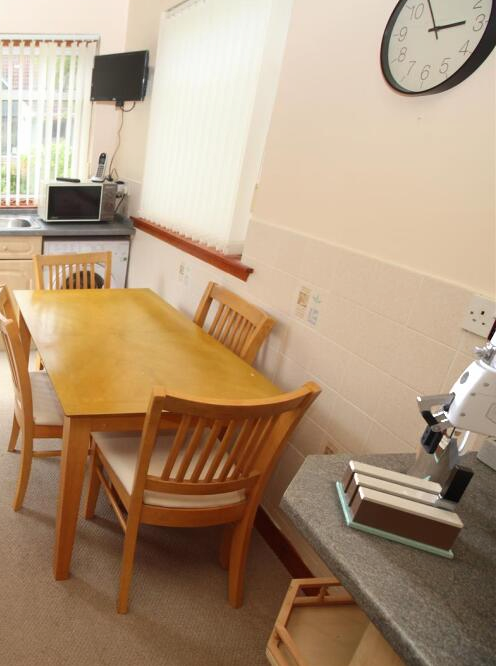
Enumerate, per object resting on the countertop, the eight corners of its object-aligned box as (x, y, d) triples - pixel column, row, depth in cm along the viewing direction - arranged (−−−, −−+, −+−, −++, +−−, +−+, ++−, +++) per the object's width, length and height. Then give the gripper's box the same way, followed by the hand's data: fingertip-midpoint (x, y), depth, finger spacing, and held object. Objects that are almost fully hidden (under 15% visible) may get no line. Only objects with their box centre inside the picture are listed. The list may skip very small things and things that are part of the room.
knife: (437, 533, 80) (473, 468, 75) (440, 539, 79) (477, 473, 74) (419, 527, 81) (452, 463, 76) (421, 533, 80) (456, 468, 75)
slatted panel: (427, 511, 86) (441, 482, 84) (452, 559, 76) (469, 529, 74) (335, 484, 92) (346, 457, 89) (347, 526, 82) (360, 497, 79)
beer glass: (445, 501, 89) (480, 434, 83) (398, 481, 93) (428, 416, 88) (450, 485, 93) (484, 420, 87) (405, 467, 98) (434, 404, 92)
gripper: (452, 357, 68) (404, 454, 75) (624, 391, 61) (554, 494, 68) (434, 339, 74) (391, 430, 81) (588, 368, 67) (527, 464, 74)
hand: (465, 459), depth 74 cm, fingers open, 9 cm apart
